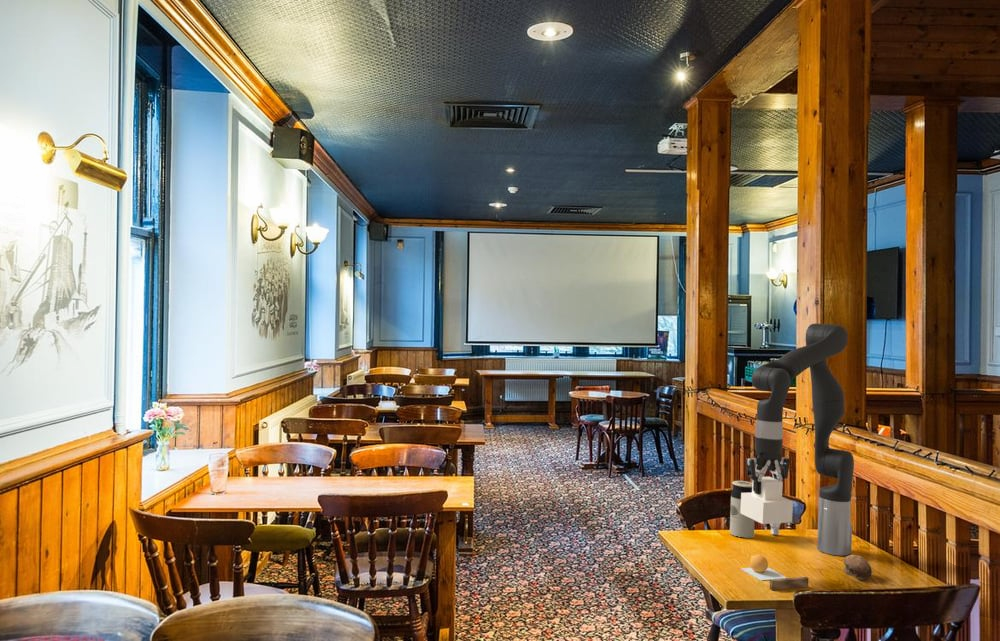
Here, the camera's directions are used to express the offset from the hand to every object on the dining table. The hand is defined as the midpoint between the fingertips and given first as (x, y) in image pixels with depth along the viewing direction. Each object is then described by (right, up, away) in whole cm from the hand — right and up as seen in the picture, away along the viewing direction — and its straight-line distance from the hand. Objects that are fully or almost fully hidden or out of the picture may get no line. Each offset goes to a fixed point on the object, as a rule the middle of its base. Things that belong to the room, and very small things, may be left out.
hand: (766, 493), depth 192 cm
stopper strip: (+2, -24, -10) cm, 26 cm away
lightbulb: (+18, -25, +38) cm, 49 cm away
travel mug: (+6, -24, +36) cm, 44 cm away
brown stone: (+27, -25, +1) cm, 37 cm away
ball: (-2, -21, +1) cm, 21 cm away
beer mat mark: (-1, -23, 0) cm, 24 cm away
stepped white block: (0, -7, 0) cm, 7 cm away
